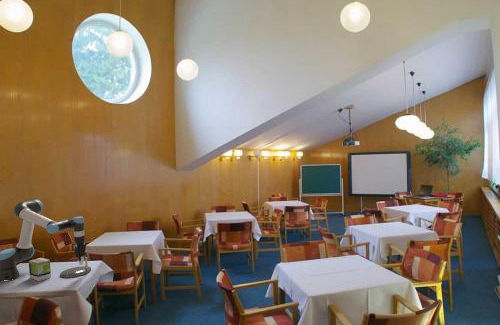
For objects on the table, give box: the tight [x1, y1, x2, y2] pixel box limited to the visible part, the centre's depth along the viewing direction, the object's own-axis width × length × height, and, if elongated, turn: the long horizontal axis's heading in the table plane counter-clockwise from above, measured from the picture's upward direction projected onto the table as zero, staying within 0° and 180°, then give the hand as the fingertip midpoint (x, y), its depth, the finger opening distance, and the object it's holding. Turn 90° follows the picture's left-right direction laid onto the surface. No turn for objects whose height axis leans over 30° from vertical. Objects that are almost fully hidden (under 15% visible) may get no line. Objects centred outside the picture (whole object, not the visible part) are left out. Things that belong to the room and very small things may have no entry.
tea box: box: [28, 257, 52, 282], centre depth 266 cm, size 15×10×15 cm, turn 58°
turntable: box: [59, 256, 92, 279], centre depth 274 cm, size 23×23×13 cm
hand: (81, 264), depth 265 cm, fingers closed
